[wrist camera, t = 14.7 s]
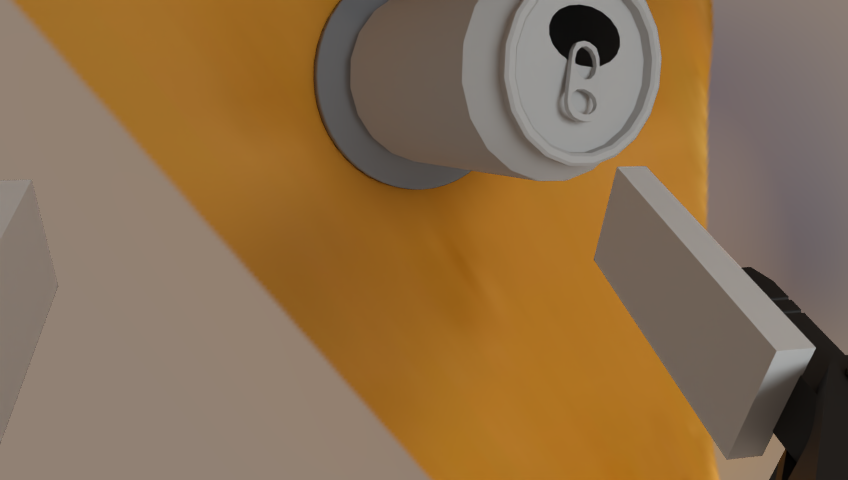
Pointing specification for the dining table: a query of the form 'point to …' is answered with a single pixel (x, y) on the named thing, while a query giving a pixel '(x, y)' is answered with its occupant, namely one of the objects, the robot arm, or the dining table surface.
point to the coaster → (341, 108)
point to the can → (507, 82)
